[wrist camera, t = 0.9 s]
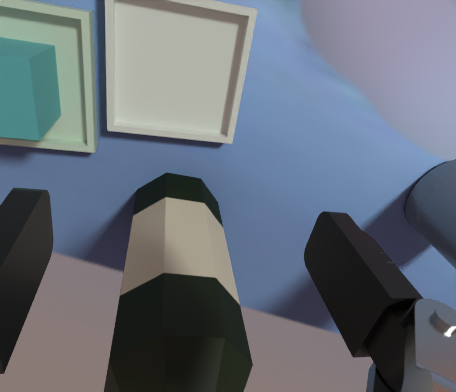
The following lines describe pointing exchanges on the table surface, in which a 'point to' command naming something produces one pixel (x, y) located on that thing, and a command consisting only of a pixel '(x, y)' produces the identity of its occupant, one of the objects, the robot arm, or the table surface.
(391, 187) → the table surface
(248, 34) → the grey tray
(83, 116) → the green tray
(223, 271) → the wine bottle
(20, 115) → the teal block
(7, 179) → the table surface
